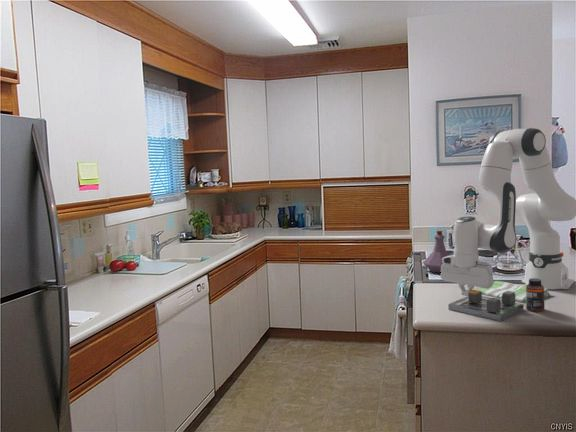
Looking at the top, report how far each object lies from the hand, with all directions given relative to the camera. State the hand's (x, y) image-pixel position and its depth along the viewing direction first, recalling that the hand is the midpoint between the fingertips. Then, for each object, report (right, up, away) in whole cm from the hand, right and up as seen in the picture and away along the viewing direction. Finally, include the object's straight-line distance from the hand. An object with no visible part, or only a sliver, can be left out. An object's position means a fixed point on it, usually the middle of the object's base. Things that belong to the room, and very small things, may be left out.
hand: (466, 295), depth 184 cm
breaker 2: (+13, -2, -7) cm, 15 cm away
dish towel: (+23, -2, +12) cm, 26 cm away
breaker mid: (+2, -2, -3) cm, 4 cm away
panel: (+5, -4, -6) cm, 9 cm away
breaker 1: (+4, -3, -14) cm, 15 cm away
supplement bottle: (+22, -4, -9) cm, 24 cm away
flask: (+8, +3, +56) cm, 56 cm away
